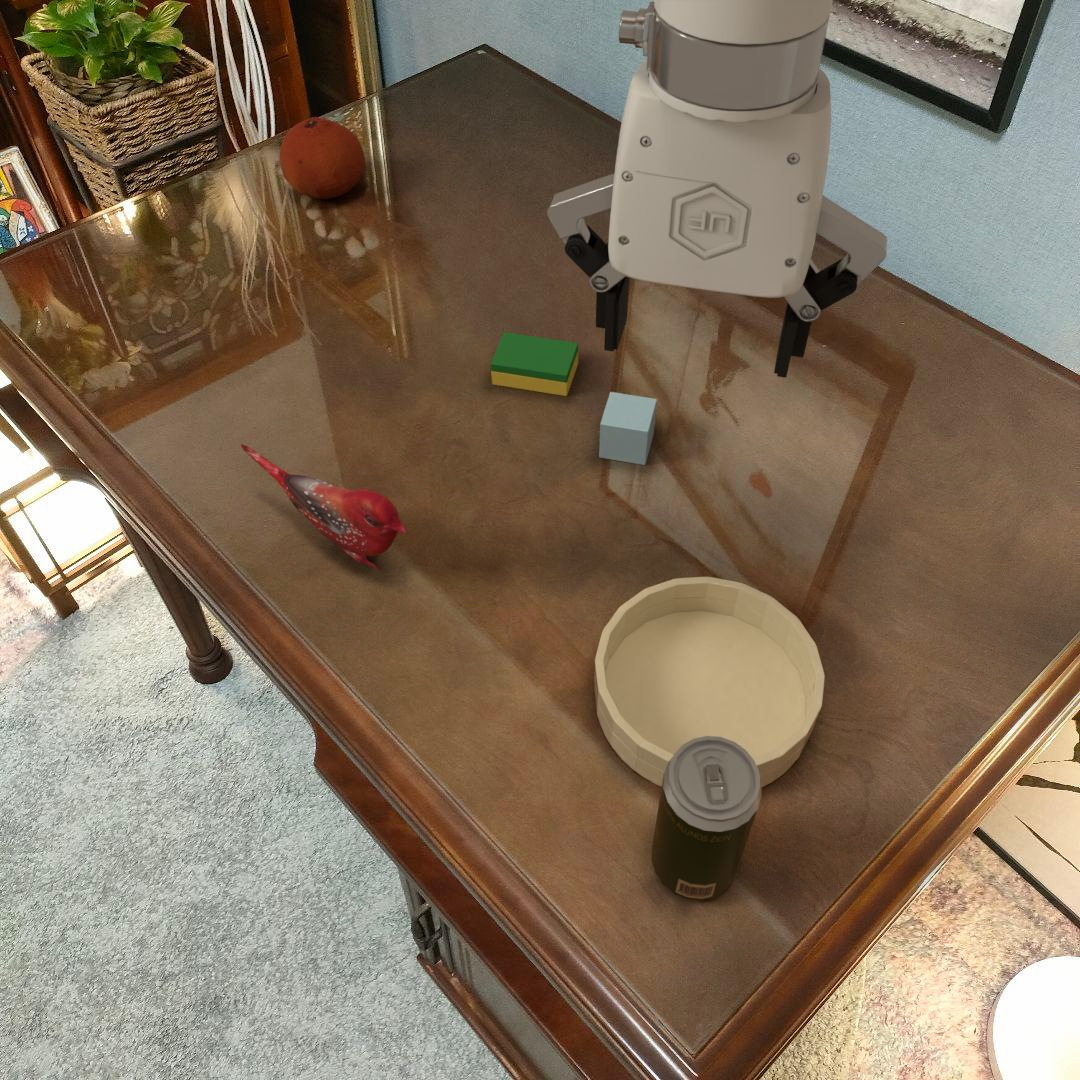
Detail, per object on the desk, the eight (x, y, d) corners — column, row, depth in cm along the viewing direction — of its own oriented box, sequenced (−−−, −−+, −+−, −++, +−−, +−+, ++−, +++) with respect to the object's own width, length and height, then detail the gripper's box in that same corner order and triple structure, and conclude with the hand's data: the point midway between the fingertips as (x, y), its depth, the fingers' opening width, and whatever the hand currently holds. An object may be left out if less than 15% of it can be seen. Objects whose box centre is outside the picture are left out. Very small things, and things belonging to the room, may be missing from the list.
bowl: (821, 631, 75) (832, 599, 72) (802, 821, 66) (813, 794, 63) (618, 592, 78) (620, 559, 75) (573, 769, 68) (573, 741, 65)
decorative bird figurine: (407, 610, 77) (388, 526, 69) (246, 506, 84) (213, 419, 76) (431, 585, 78) (416, 499, 71) (271, 485, 85) (242, 397, 78)
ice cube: (654, 432, 88) (657, 398, 85) (645, 465, 86) (648, 431, 83) (608, 425, 89) (610, 391, 86) (598, 457, 87) (600, 423, 84)
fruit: (271, 198, 112) (253, 130, 106) (324, 161, 117) (310, 93, 111) (332, 223, 109) (318, 154, 103) (384, 183, 114) (373, 115, 108)
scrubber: (578, 363, 94) (578, 342, 92) (566, 396, 91) (566, 375, 90) (505, 352, 95) (504, 331, 93) (492, 384, 93) (490, 363, 91)
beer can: (743, 902, 63) (773, 820, 53) (656, 907, 63) (671, 827, 53) (728, 819, 66) (754, 729, 57) (645, 824, 66) (658, 735, 57)
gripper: (525, 69, 44) (535, 368, 58) (936, 112, 41) (847, 417, 55) (565, -5, 49) (566, 288, 62) (939, 28, 46) (856, 329, 59)
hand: (697, 348), depth 58 cm, fingers open, 9 cm apart
